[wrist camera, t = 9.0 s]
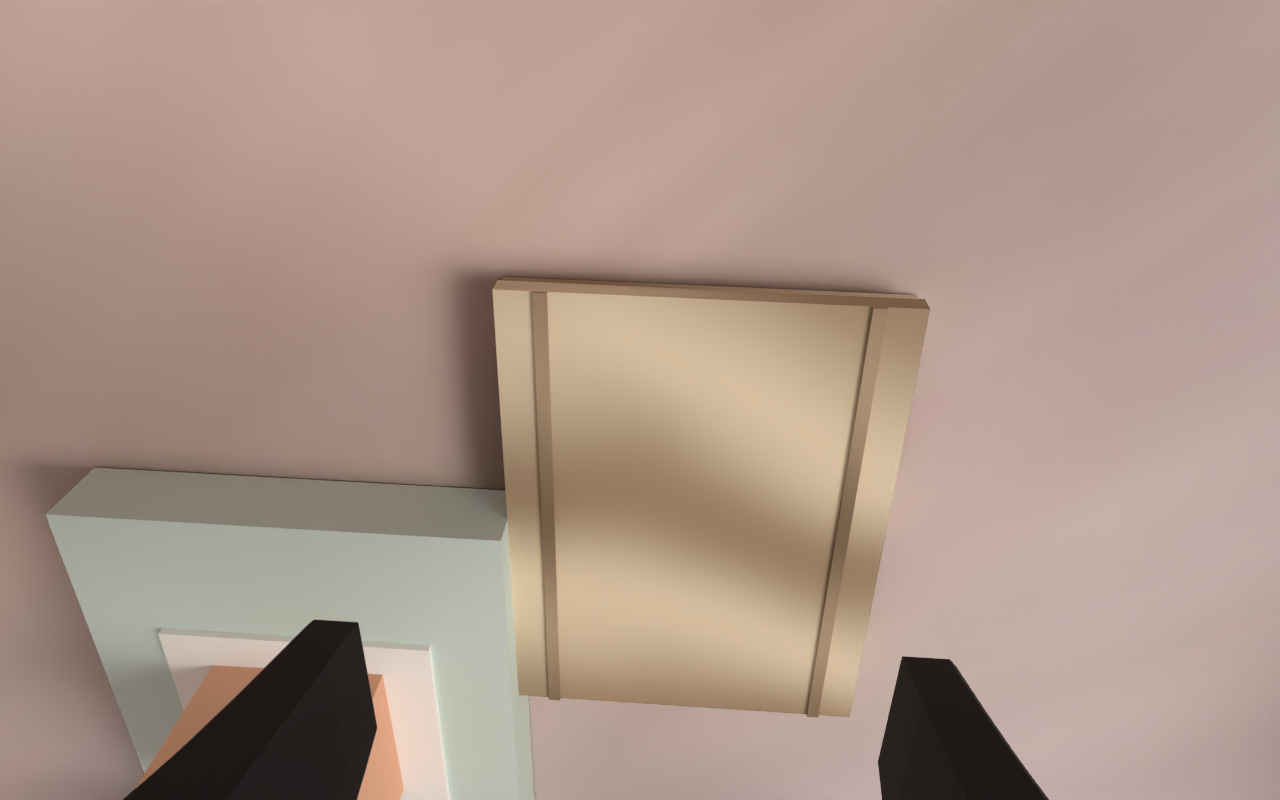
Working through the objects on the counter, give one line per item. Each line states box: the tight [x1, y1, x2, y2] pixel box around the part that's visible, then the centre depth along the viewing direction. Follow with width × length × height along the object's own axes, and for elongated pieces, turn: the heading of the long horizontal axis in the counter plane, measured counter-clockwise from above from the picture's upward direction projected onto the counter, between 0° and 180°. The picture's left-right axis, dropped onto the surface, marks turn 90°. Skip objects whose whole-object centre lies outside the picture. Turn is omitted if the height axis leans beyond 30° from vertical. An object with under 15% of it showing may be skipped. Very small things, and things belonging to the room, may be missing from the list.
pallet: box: [492, 277, 930, 717], centre depth 22 cm, size 12×9×1 cm
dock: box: [45, 468, 534, 800], centre depth 24 cm, size 14×11×5 cm
